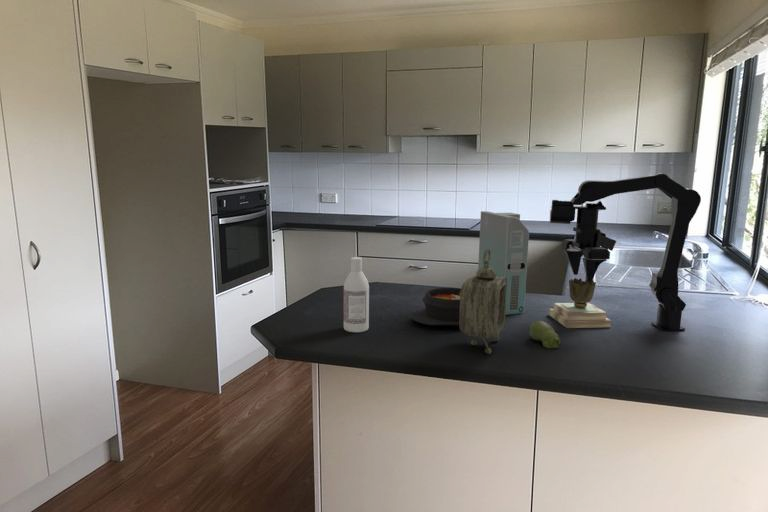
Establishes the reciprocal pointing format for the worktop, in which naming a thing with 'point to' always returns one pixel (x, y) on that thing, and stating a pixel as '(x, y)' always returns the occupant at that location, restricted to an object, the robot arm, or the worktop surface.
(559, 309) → the oak plinth
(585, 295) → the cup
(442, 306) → the casserole
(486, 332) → the tabletop clock
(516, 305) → the light blue cardboard box
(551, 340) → the pear
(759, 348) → the worktop surface
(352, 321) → the bath foam
